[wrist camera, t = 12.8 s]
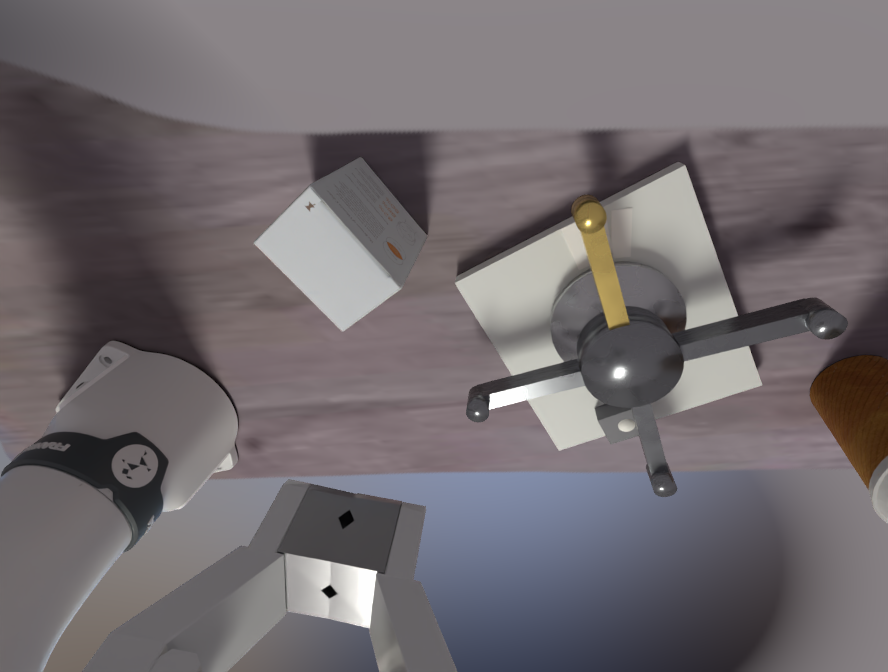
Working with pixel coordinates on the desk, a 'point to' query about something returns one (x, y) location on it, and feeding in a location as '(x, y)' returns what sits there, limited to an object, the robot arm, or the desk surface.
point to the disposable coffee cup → (859, 418)
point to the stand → (564, 257)
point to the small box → (345, 243)
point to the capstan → (637, 339)
